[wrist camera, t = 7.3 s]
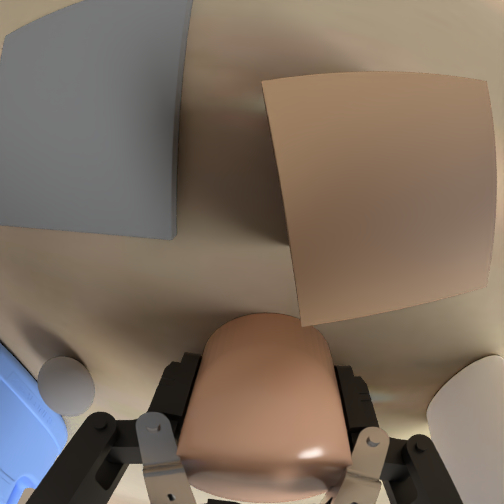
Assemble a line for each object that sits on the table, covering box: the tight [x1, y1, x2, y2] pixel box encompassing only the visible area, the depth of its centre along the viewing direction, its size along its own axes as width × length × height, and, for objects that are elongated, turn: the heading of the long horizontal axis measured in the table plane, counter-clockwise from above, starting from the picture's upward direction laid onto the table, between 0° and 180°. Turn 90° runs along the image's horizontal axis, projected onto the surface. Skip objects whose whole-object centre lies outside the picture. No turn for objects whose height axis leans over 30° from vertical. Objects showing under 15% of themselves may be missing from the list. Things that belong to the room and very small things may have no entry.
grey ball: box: [38, 356, 95, 417], centre depth 13 cm, size 4×4×4 cm
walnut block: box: [261, 71, 497, 327], centre depth 7 cm, size 5×5×5 cm
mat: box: [0, 0, 193, 240], centre depth 9 cm, size 10×10×1 cm
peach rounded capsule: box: [176, 313, 353, 503], centre depth 10 cm, size 6×6×6 cm
